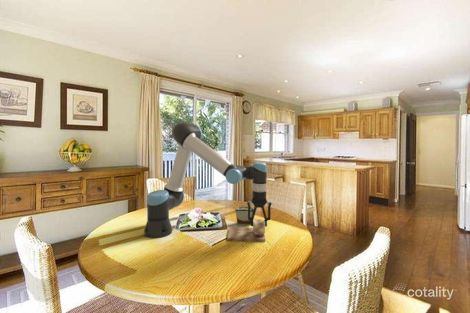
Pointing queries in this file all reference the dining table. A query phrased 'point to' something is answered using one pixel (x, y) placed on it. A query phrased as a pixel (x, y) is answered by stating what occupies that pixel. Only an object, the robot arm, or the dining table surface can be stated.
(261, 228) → the sanding block
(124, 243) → the dining table surface
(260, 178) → the robot arm
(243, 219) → the food container
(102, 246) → the dining table surface
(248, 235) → the board
